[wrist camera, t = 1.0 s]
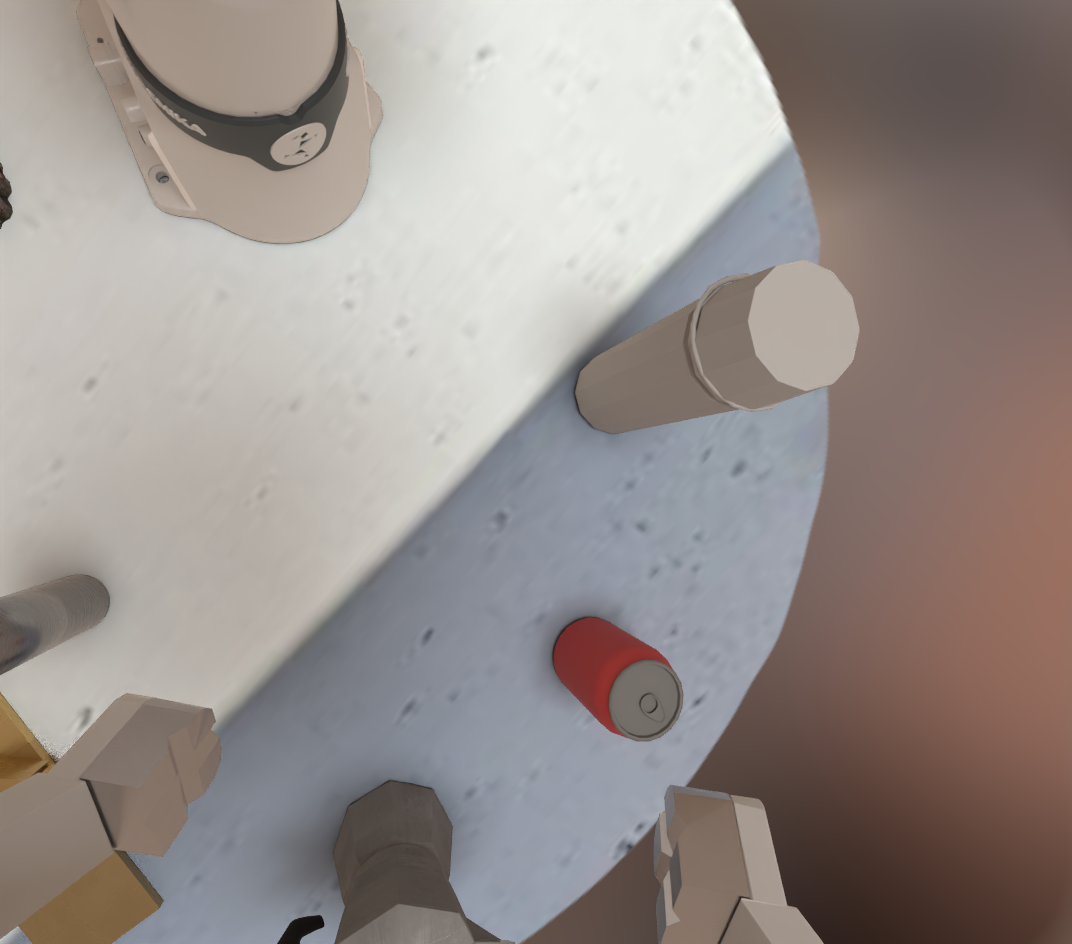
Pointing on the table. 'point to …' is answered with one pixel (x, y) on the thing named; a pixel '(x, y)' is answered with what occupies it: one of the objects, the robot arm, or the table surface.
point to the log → (4, 198)
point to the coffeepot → (396, 874)
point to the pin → (48, 617)
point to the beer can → (619, 679)
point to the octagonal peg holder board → (100, 895)
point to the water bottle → (726, 351)
